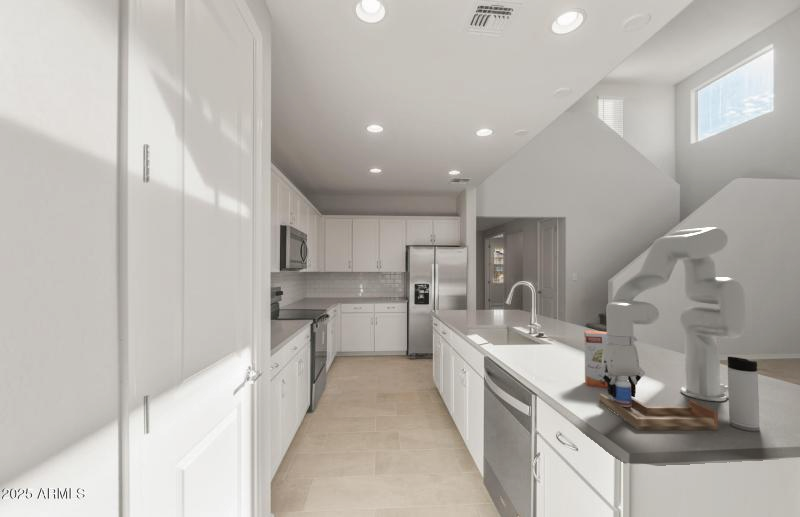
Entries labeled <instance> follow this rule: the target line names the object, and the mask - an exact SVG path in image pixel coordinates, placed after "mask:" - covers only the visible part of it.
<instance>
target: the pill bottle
mask: <svg viewBox="0 0 800 517" xmlns="http://www.w3.org/2000/svg"><path fill="white" fill-rule="evenodd" d="M614 385H616V397H612V396H611V398H612V399H611V400H612V401H614V402H615V403H617V404H619V405H620V406H622V407H630V406H631V405H632V398H633V397H632V396H631V383H630V382H629V380H628V376H616V378H615V381H614ZM631 397H632V398H631Z"/></svg>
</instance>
